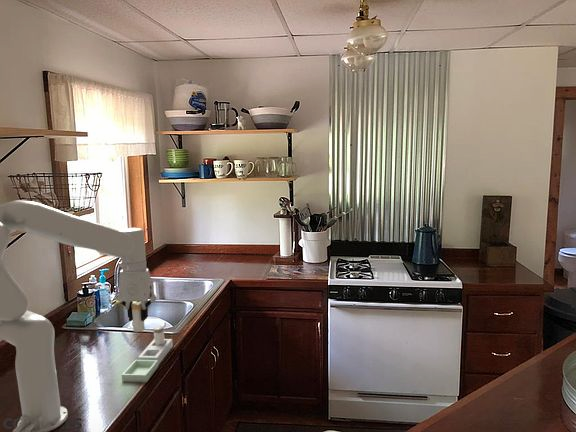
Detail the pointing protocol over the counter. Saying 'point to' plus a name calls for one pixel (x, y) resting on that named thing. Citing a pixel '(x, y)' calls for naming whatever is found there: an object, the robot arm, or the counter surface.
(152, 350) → the holder block
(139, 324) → the cylinder
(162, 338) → the cylinder
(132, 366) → the tray
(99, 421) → the counter surface
